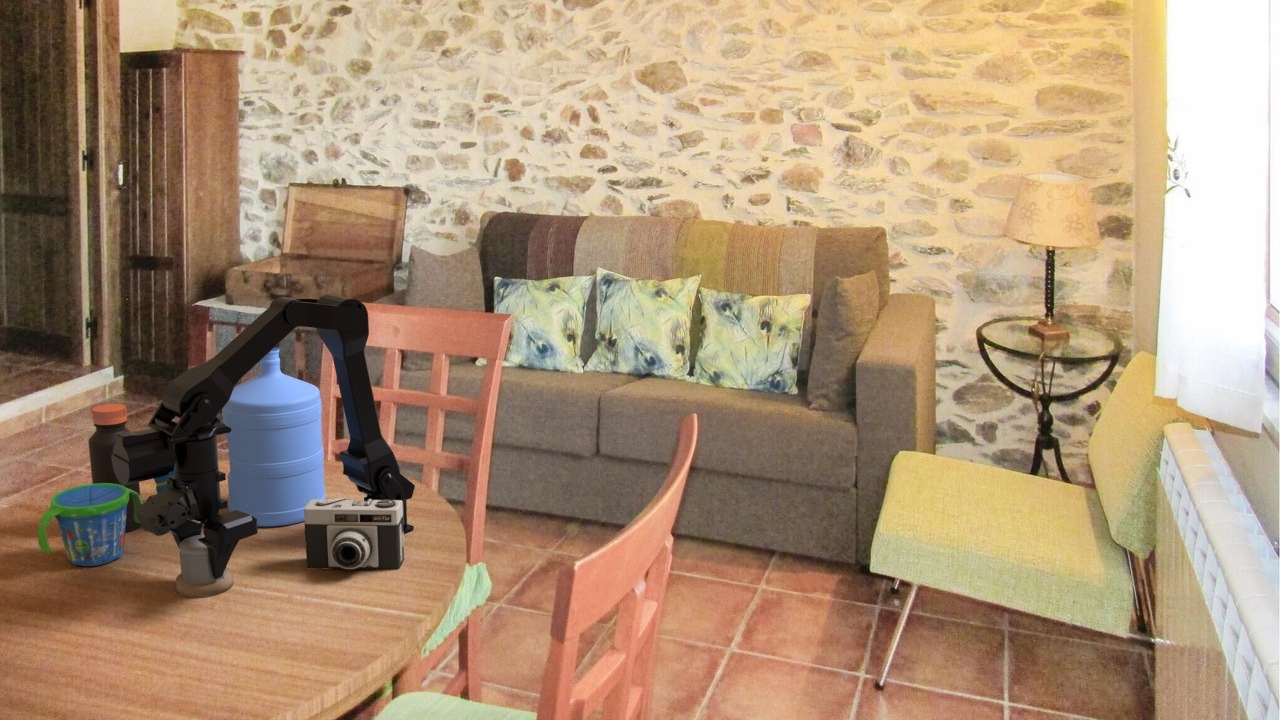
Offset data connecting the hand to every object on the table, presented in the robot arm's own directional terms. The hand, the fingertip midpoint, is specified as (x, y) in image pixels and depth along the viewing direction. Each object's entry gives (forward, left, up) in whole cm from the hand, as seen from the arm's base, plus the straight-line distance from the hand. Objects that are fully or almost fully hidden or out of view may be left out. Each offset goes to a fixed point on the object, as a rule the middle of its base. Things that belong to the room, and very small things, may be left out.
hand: (204, 572), depth 158 cm
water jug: (-25, -16, -2) cm, 30 cm away
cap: (0, 0, -1) cm, 1 cm away
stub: (0, 0, -2) cm, 2 cm away
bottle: (-5, -30, -2) cm, 31 cm away
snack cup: (+4, -21, -2) cm, 22 cm away
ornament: (-14, -31, -2) cm, 35 cm away
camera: (-17, +12, -2) cm, 21 cm away
